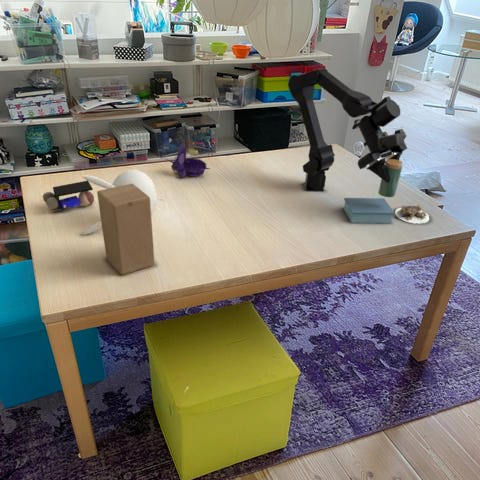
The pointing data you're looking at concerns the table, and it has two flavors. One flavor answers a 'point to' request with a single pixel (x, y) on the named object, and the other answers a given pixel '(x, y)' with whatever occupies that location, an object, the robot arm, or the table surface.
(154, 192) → the stuffed toy
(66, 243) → the table surface
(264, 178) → the table surface
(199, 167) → the creature
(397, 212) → the frog figurine
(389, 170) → the canister
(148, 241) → the wooden block
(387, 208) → the slate blue base plate
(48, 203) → the toy car
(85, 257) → the table surface
